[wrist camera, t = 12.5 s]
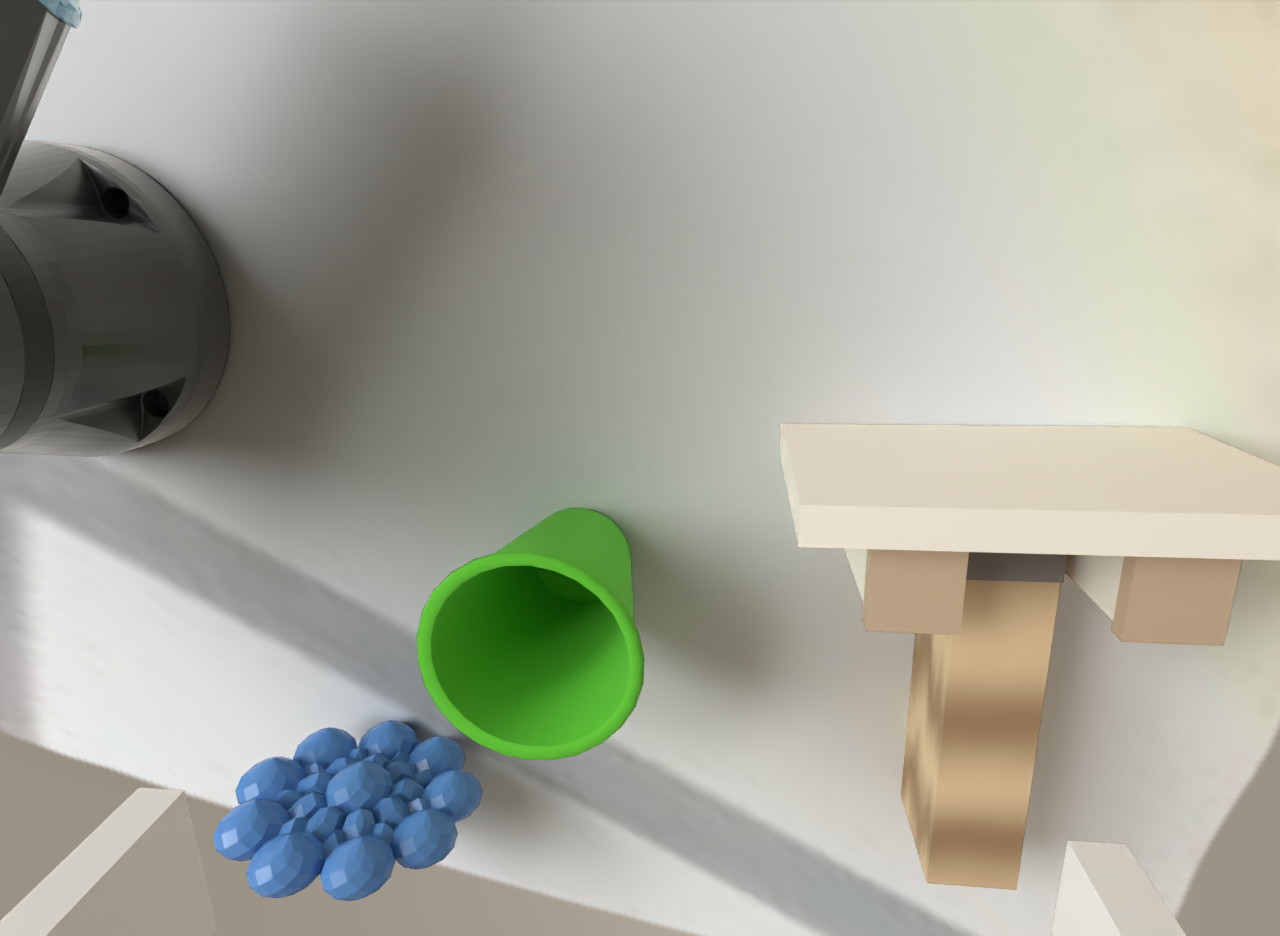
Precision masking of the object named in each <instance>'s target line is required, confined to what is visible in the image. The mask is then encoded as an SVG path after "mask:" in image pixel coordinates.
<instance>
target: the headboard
mask: <svg viewBox="0 0 1280 936" xmlns="http://www.w3.org/2000/svg"><path fill="white" fill-rule="evenodd" d="M780 457H781V462H782V468H783V473H784V478H785V483H786V488H787V493H788V498H789V503H790V508H791V513H792V518H793V523H794V528H795V533H796V538H797V543H798V547H809V548H844V549H845V552H846V555H847V558H848V561H849V564H850V567H851V570H852V572H853V575H854V578H855V581H856V584H857V587H858V590H859V593H860V595H861V598H862V601H863V617H862V622H863V625H864V628H865V631H872V632H897V633H922V634H947V635H960V630H961V621H962V612H963V603H964V593H965V584H966V575H967V566H968V556H969V552H990V553H1026V554H1063V555H1067V559H1066V566H1065V573H1066V574H1067V575H1068V576H1069V577H1070V578H1071V579H1072V580H1073V581H1074V582H1075V583H1076V584H1077V585H1078V586H1079V587H1080V588H1081V589H1082V590H1083V591H1084V592H1085V593H1086V594H1087V595H1088V596H1089V597H1090V598H1091V599H1092V600H1093V601H1094V602H1095V603H1096V604H1097V605H1098V606H1099V607H1100V609H1101V610H1102V611H1103V612H1104V613H1105V614H1106V615H1107V616H1108V617H1109V618H1110V619H1111V620H1112V621H1113V625H1112V630H1111V631H1112V632H1113V633H1114V634H1115V635H1116V636H1117V637H1118V638H1119V639H1120V640H1121V641H1122V642H1145V643H1170V644H1195V645H1220V646H1224V642H1225V638H1226V633H1227V628H1228V624H1229V619H1230V615H1231V610H1232V605H1233V601H1234V596H1235V592H1236V587H1237V582H1238V578H1239V573H1240V568H1241V564H1242V559H1243V560H1280V466H1278V465H1275V464H1273V463H1271V462H1268V461H1266V460H1263V459H1261V458H1258V457H1256V456H1254V455H1251V454H1249V453H1246V452H1244V451H1242V450H1239V449H1237V448H1234V447H1232V446H1230V445H1227V444H1225V443H1222V442H1220V441H1218V440H1215V439H1213V438H1210V437H1208V436H1205V435H1203V434H1201V433H1198V432H1196V431H1193V430H1191V429H1189V428H1186V427H1133V426H1016V425H898V424H781V431H780Z"/></svg>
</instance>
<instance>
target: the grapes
mask: <svg viewBox="0 0 1280 936" xmlns="http://www.w3.org/2000/svg"><path fill="white" fill-rule="evenodd" d="M417 744H418V740H417V737H416V734H415V731H414V730H412V729H411V728H410V727H409V726H408V725H407V724H404V723H401V722H399V721H392V720H390V721H386V722H382V723H380V724H378V725H376V726H374V727H373V728H371V729H370V730H369V731H368V732H367V733H366V734H365V735H364V736H363V737H362V738H361V741H360V743H359V746H358V748H357V745H356V741H355V739H354V738H353V737H352V736H351V735H350V734H348V733H347V732H346V731H343V730H340V729H337V728H329V727H328V728H324V729H321V730H319V731H317V732H315V733H313V734H311V735H309V736H308V737H307V738H306V739H305V740H304V741H303V742H302V743H301V744H299V745H298V748H297V750H296V753H295V755H294V758H293V759H294V760H293V759H289V758H286V757H272V758H268V759H265V760H263V761H262V762H260V763H258V764H256V765H254V766H253V767H252V768H251V769H250V770H249V771H248V772H246V773H245V774H244V775H243V776H242V777H241V779H240V782H239V784H238V786H237V788H236V795H237V799H238V803H239V804H240V805H238V806H237V807H235V808H233V809H232V810H231V811H230V812H229V813H228V814H227V815H226V816H225V817H224V818H223V819H222V820H221V821H220V823H219V825H218V827H217V829H216V832H215V834H214V836H213V837H214V841H215V847H216V850H217V851H218V852H219V853H220V854H222V855H223V856H224V857H226V858H227V859H231V860H237V861H246V860H252V861H251V863H250V865H249V868H248V870H247V877H248V882H249V886H250V888H251V889H253V890H254V891H255V892H256V893H258V894H259V895H260V896H263V897H271V898H281V897H286V896H290V895H293V894H295V893H297V892H299V891H301V890H302V889H304V888H306V887H308V886H309V884H311V883H312V882H313V880H314V879H315V878H316V877H317V876H318V875H319V874H320V877H321V881H322V885H323V888H324V891H326V892H327V893H328V894H329V895H331V896H332V897H333V898H334V899H338V900H345V901H352V900H358V899H361V898H364V897H366V896H368V895H370V894H372V893H374V892H376V891H377V890H379V889H380V888H381V887H382V885H383V884H384V883H385V882H386V881H387V880H388V879H389V878H390V877H391V873H392V870H393V867H394V864H395V860H396V861H397V862H398V863H399V864H401V865H402V866H403V867H405V868H410V869H422V868H427V867H430V866H432V865H434V864H436V863H438V862H439V861H441V860H443V859H444V858H445V857H446V856H447V855H448V853H449V852H450V851H451V850H452V849H453V848H454V845H455V841H456V838H457V834H458V832H457V829H456V826H455V822H459V821H461V820H462V819H464V818H466V817H468V816H470V815H471V814H472V812H473V811H474V810H475V809H476V808H477V807H478V806H479V804H480V800H481V796H482V789H481V786H480V783H479V781H478V780H477V779H476V778H475V777H474V776H473V775H471V774H470V773H468V772H465V771H462V768H463V765H464V761H465V755H464V752H463V749H462V747H461V746H460V745H459V744H458V743H457V742H455V741H454V740H452V739H450V738H447V737H444V736H436V737H432V738H429V739H427V740H425V741H423V742H421V743H419V744H418V745H417Z"/></svg>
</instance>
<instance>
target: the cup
mask: <svg viewBox="0 0 1280 936" xmlns="http://www.w3.org/2000/svg"><path fill="white" fill-rule="evenodd" d="M417 650H418V664H419V667H420V670H421V674H422V677H423V680H424V683H425V687H426V689H427V690H428V692H429V694H430V695H431V697H432V699H433V701H434V702H435V704H436V706H437V707H438V709H439V710H440V711H441V712H442V713H443V714H444V716H445V717H446V718H447V719H448V720H449V721H450V722H451V723H452V724H453V725H454V726H455V727H456V728H457V729H458V730H459V731H461V732H462V733H464V734H465V735H466V736H468V737H469V738H471V739H472V740H474V741H475V742H476V743H478V744H480V745H482V746H485V747H487V748H489V749H491V750H494V751H496V752H498V753H500V754H504V755H508V756H513V757H517V758H522V759H526V760H555V759H560V758H565V757H570V756H574V755H578V754H580V753H582V752H585V751H587V750H589V749H591V748H593V747H595V746H597V745H599V744H601V743H603V742H604V741H605V740H606V739H608V738H609V737H610V736H611V735H612V734H613V733H615V732H616V731H617V730H618V729H619V728H621V727H622V725H623V724H624V722H625V721H626V720H627V718H628V717H629V715H630V714H631V712H632V711H633V709H634V708H635V706H636V703H637V700H638V697H639V694H640V691H641V688H642V685H643V676H644V654H643V650H642V645H641V641H640V636H639V632H638V630H637V628H636V626H635V624H634V610H633V591H632V571H631V554H630V550H629V545H628V542H627V540H626V538H625V536H624V534H623V532H622V531H621V530H620V529H619V527H618V526H617V525H616V524H615V523H614V522H613V521H611V520H610V519H609V518H607V517H606V516H605V515H602V514H600V513H598V512H596V511H593V510H588V509H583V508H570V509H565V510H562V511H558V512H556V513H554V514H553V515H551V516H549V517H547V518H546V519H544V520H543V521H541V522H540V523H539V524H537V525H536V526H534V527H533V528H531V529H530V530H528V531H527V532H525V533H524V534H522V535H521V536H519V537H518V538H516V539H515V540H513V541H512V542H511V543H509V544H508V545H506V546H505V547H503V548H502V549H500V550H499V551H497V552H496V553H494V554H492V555H488V556H484V557H481V558H477V559H474V560H472V561H470V562H469V563H467V564H465V565H463V566H462V567H460V568H458V569H456V570H455V571H453V572H451V573H450V574H449V575H448V576H447V577H446V578H445V579H444V580H443V581H442V582H441V584H440V585H439V586H438V587H437V588H436V589H435V590H434V591H433V593H432V595H431V596H430V598H429V600H428V602H427V604H426V606H425V607H424V609H423V611H422V615H421V619H420V624H419V628H418V633H417Z"/></svg>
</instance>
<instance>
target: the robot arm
mask: <svg viewBox="0 0 1280 936" xmlns="http://www.w3.org/2000/svg"><path fill="white" fill-rule="evenodd" d="M78 2H79V0H0V453H20V454H43V455H66V456H104V455H112V454H118V453H123V452H126V451H130V450H133V449H136V448H139V447H142V446H145V445H148V444H151V443H154V442H157V441H159V440H162V439H164V438H167V437H169V436H171V435H173V434H175V433H176V432H178V431H180V430H181V429H183V428H184V427H185V426H187V425H188V424H189V423H190V422H191V421H193V420H194V419H195V418H196V417H197V416H198V415H199V414H200V412H201V411H202V410H203V409H204V408H205V406H206V405H207V404H208V402H209V401H210V399H211V397H212V396H213V394H214V392H215V390H216V388H217V386H218V384H219V381H220V379H221V376H222V373H223V370H224V367H225V362H226V358H227V352H228V344H229V315H228V307H227V300H226V295H225V290H224V287H223V283H222V279H221V276H220V273H219V270H218V267H217V265H216V263H215V260H214V258H213V255H212V253H211V251H210V249H209V247H208V245H207V243H206V242H205V240H204V238H203V236H202V234H201V233H200V231H199V230H198V228H197V227H196V225H195V224H194V222H193V221H192V219H191V218H190V217H189V215H188V214H187V213H186V212H185V210H184V209H183V208H182V207H181V206H180V204H179V203H178V202H177V201H176V200H175V199H174V198H173V197H172V196H171V195H170V194H169V193H168V192H167V191H166V190H165V189H164V188H163V187H162V186H160V185H159V184H158V183H157V182H156V181H154V180H153V179H152V178H151V177H149V176H148V175H146V174H145V173H144V172H142V171H141V170H139V169H137V168H136V167H134V166H133V165H131V164H129V163H127V162H125V161H123V160H121V159H119V158H117V157H115V156H112V155H110V154H107V153H104V152H101V151H98V150H95V149H91V148H86V147H81V146H75V145H68V144H61V143H53V142H46V141H36V140H24V138H25V135H26V133H27V131H28V128H29V126H30V123H31V121H32V119H33V116H34V114H35V111H36V109H37V107H38V104H39V102H40V99H41V97H42V95H43V92H44V90H45V87H46V85H47V83H48V80H49V78H50V75H51V73H52V70H53V68H54V66H55V63H56V61H57V58H58V56H59V54H60V51H61V49H62V46H63V44H64V42H65V39H66V37H67V34H68V32H69V30H70V27H74V28H77V27H78V25H79V23H80V21H81V15H82V12H81V10H80V8H79V7H78ZM216 928H217V927H216V923H215V919H214V915H213V910H212V906H211V902H210V898H209V893H208V889H207V885H206V881H205V876H204V872H203V868H202V863H201V860H200V855H199V851H198V846H197V842H196V838H195V834H194V829H193V825H192V821H191V817H190V813H189V808H188V804H187V800H186V795H185V791H184V790H169V789H151V788H138V789H137V790H136V791H135V792H134V793H133V794H132V795H131V796H130V797H129V798H128V799H127V800H126V801H125V802H124V803H123V804H121V806H119V807H118V808H117V809H116V810H115V811H114V812H113V813H112V814H111V815H110V816H109V817H108V818H107V819H106V820H105V821H104V822H103V823H102V824H101V825H100V826H99V827H98V828H96V829H95V830H94V831H93V832H92V833H91V834H90V835H89V836H88V837H87V838H86V839H85V840H84V841H83V842H82V843H81V844H80V845H79V846H78V847H77V848H76V849H75V850H74V851H73V852H72V853H71V854H69V855H68V856H67V858H66V859H64V860H63V861H62V862H61V863H60V864H59V865H58V866H57V867H56V868H55V869H54V870H53V871H52V872H51V873H50V874H49V875H48V876H47V877H46V878H45V879H43V880H42V881H41V882H40V883H39V884H38V885H37V886H36V887H35V888H34V889H33V890H32V891H31V892H30V893H29V894H28V895H27V896H26V897H25V898H24V899H23V900H22V901H21V902H20V903H18V905H16V906H15V908H13V909H12V910H11V911H10V912H9V913H8V914H7V915H6V916H5V917H4V918H3V919H2V920H1V921H0V936H211V935H212V933H213V932H214V931H215V929H216ZM1051 936H1186V934H1185V933H1184V931H1183V930H1182V928H1181V927H1180V925H1179V924H1178V922H1177V921H1176V919H1175V917H1174V916H1173V914H1172V913H1171V911H1170V910H1169V908H1168V907H1167V905H1166V904H1165V902H1164V901H1163V899H1162V898H1161V896H1160V895H1159V893H1158V892H1157V890H1156V889H1155V887H1154V886H1153V884H1152V883H1151V881H1150V880H1149V878H1148V876H1147V875H1146V873H1145V872H1144V870H1143V869H1142V867H1141V866H1140V864H1139V863H1138V861H1137V860H1136V858H1135V857H1134V855H1133V854H1132V852H1131V851H1130V849H1129V848H1128V846H1127V845H1126V844H1119V843H1101V842H1084V841H1068V842H1067V847H1066V853H1065V858H1064V864H1063V870H1062V875H1061V881H1060V887H1059V892H1058V898H1057V903H1056V909H1055V915H1054V920H1053V926H1052V931H1051Z"/></svg>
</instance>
